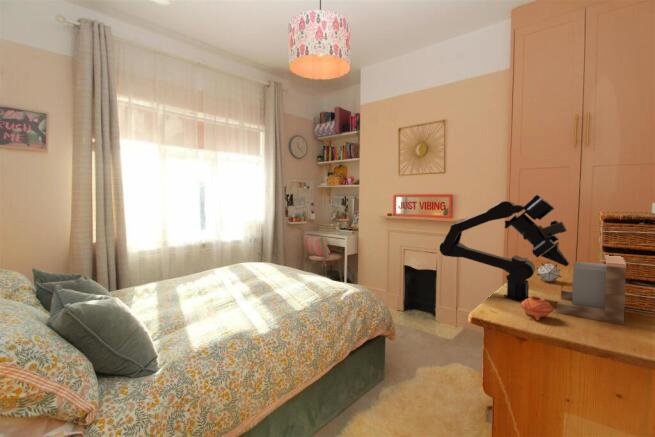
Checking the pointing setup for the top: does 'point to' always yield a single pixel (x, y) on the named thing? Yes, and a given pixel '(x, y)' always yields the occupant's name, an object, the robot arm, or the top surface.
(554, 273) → the game die
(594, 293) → the tall block
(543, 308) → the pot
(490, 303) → the top surface
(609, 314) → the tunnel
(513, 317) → the top surface
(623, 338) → the top surface
